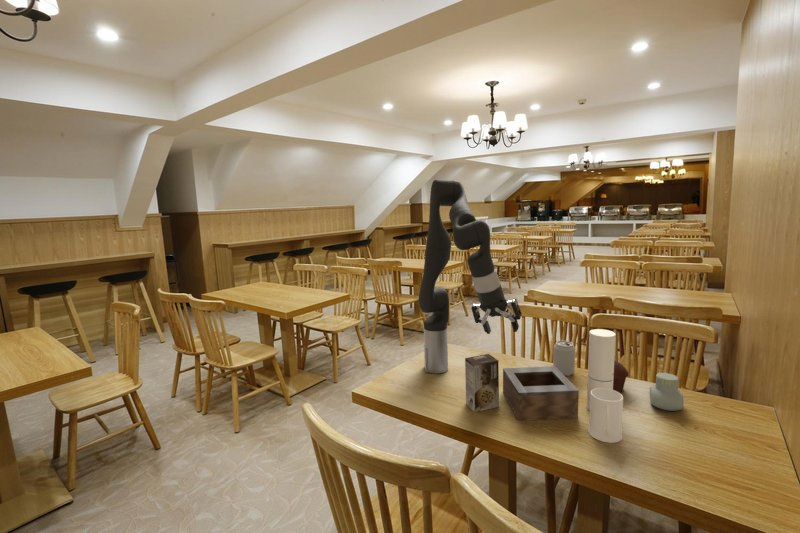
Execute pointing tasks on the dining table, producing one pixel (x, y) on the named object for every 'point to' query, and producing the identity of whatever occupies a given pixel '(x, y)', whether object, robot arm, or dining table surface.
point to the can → (564, 357)
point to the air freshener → (666, 392)
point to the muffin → (619, 376)
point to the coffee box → (482, 382)
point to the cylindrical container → (600, 360)
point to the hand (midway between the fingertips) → (502, 331)
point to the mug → (606, 415)
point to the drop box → (540, 393)
